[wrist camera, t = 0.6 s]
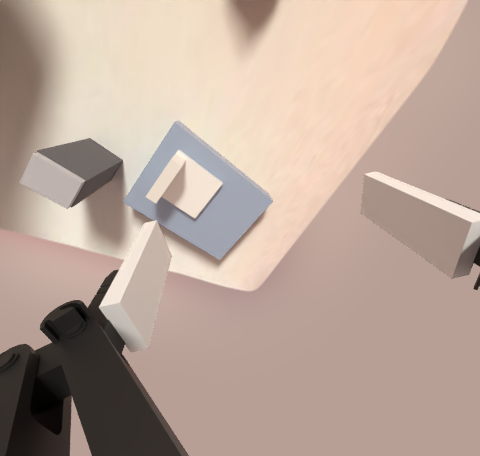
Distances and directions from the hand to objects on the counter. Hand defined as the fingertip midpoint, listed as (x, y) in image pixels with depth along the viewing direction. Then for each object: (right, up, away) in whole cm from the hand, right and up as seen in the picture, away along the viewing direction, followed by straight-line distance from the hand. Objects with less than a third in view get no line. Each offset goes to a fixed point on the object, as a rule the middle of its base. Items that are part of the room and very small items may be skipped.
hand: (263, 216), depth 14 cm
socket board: (-8, +5, +24) cm, 26 cm away
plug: (-23, +10, +20) cm, 32 cm away
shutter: (-9, +6, +19) cm, 22 cm away
